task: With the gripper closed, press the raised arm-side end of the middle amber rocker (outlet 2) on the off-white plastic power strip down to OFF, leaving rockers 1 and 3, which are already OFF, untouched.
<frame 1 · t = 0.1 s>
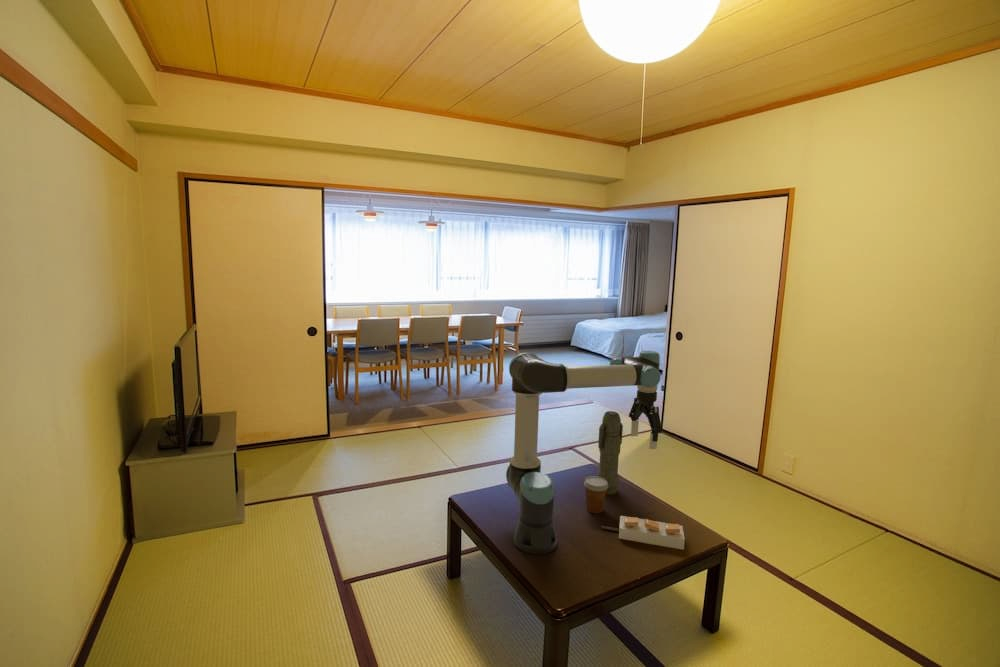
hand: (643, 442, 188), 28 cm above the table, fingers open, 13 cm apart
rocker 3: (672, 528, 167), point 6 cm above the table, hinge at -12.0°
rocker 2: (651, 524, 169), point 6 cm above the table, hinge at 12.0°
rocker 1: (631, 521, 171), point 6 cm above the table, hinge at -12.0°
disposable coffee cup: (594, 509, 190), on the table
thermos: (607, 490, 207), on the table
power strip: (650, 537, 171), on the table
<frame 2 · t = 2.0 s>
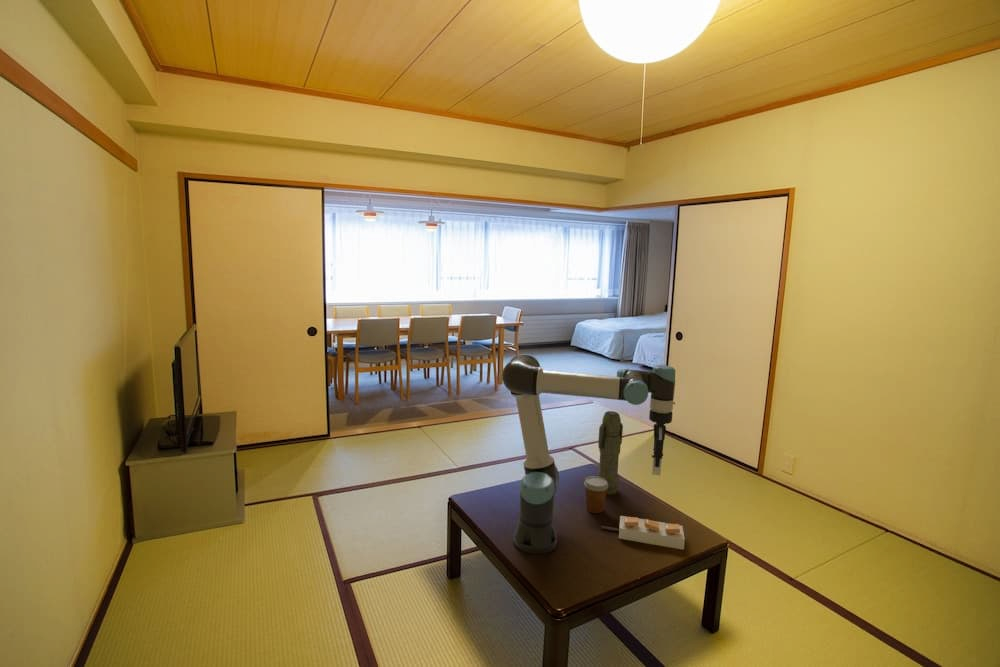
hand: (656, 474, 167), 24 cm above the table, fingers closed
nothing on the table moved.
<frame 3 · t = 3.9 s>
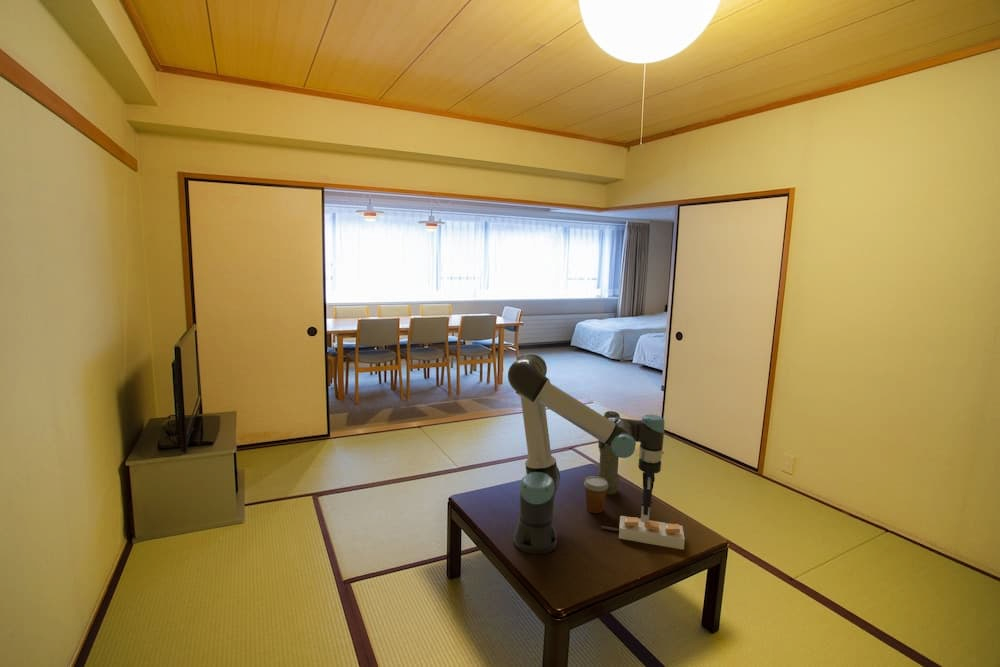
hand: (644, 521, 169), 7 cm above the table, fingers closed
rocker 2: (651, 524, 169), point 6 cm above the table, hinge at 9.4°, touching gripper
everything else where it was.
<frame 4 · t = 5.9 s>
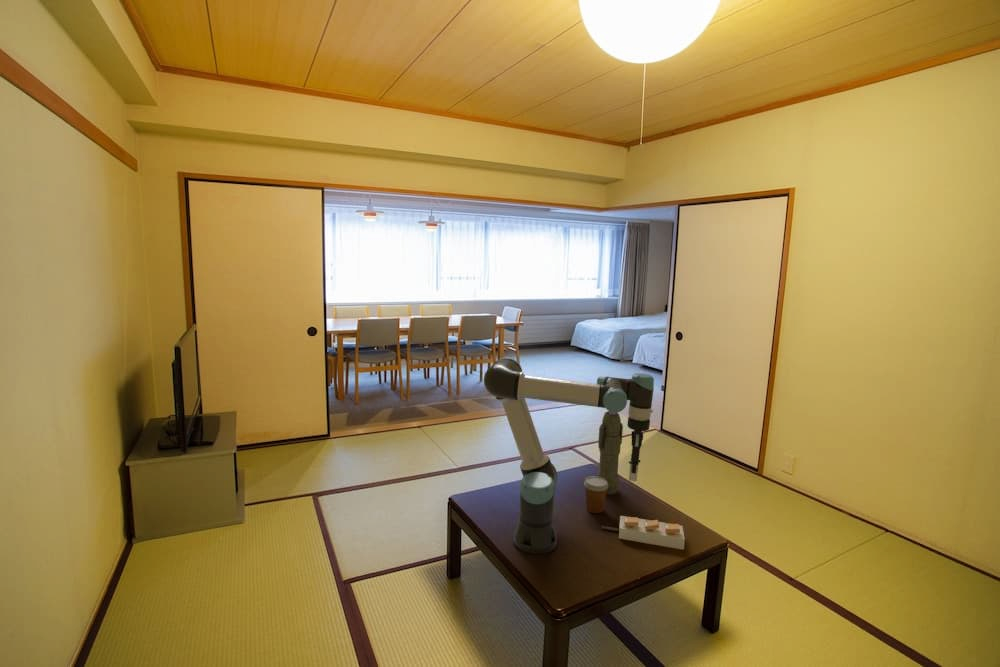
hand: (632, 480, 170), 21 cm above the table, fingers closed
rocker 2: (651, 524, 169), point 6 cm above the table, hinge at -21.3°
everything else where it was.
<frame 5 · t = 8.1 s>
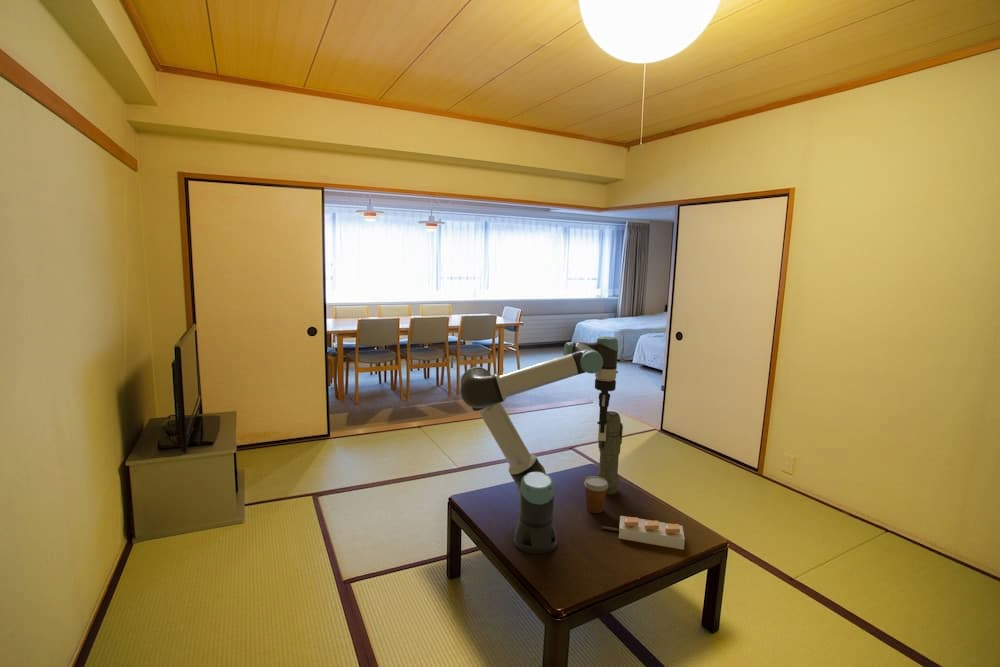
hand: (601, 440, 177), 32 cm above the table, fingers closed
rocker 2: (651, 524, 169), point 6 cm above the table, hinge at -13.0°
everything else where it was.
at the end: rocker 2 at -13° (first picture: +12°); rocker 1 at -12° (first picture: -12°); rocker 3 at -12° (first picture: -12°) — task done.
